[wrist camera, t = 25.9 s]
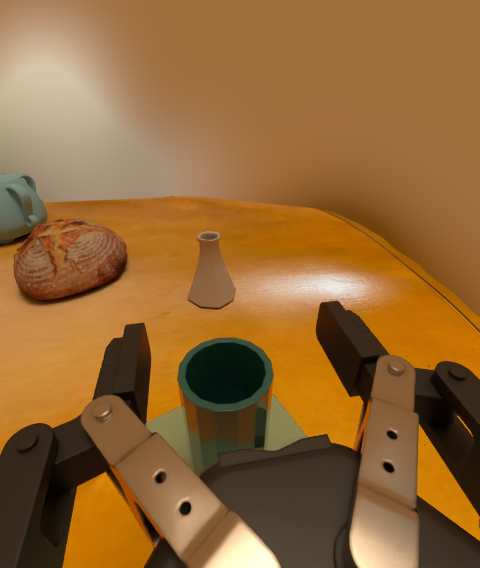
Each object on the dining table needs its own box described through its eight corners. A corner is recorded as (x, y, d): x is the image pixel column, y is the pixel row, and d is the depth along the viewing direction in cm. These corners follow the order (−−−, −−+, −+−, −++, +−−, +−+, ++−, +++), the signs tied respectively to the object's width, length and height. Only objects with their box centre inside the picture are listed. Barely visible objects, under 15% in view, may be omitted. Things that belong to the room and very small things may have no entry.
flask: (179, 301, 46) (171, 240, 41) (204, 279, 52) (200, 222, 47) (222, 314, 44) (219, 251, 38) (243, 289, 49) (243, 230, 44)
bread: (-3, 309, 46) (-40, 249, 41) (64, 250, 63) (45, 202, 57) (102, 307, 45) (79, 245, 40) (143, 247, 62) (130, 197, 56)
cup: (272, 440, 27) (282, 349, 21) (252, 515, 22) (257, 424, 16) (210, 419, 29) (203, 329, 23) (178, 485, 24) (159, 393, 18)
